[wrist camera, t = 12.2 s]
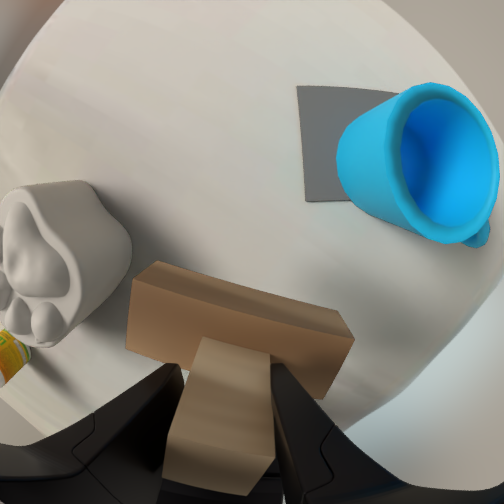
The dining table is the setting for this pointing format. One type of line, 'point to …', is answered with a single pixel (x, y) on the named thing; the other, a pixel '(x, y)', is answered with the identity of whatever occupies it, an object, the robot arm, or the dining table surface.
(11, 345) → the supplement bottle
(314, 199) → the charcoal mat
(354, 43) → the dining table surface
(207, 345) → the wooden t-shaped block
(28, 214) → the lumpy-topped squat cylinder
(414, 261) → the dining table surface
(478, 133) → the mug
